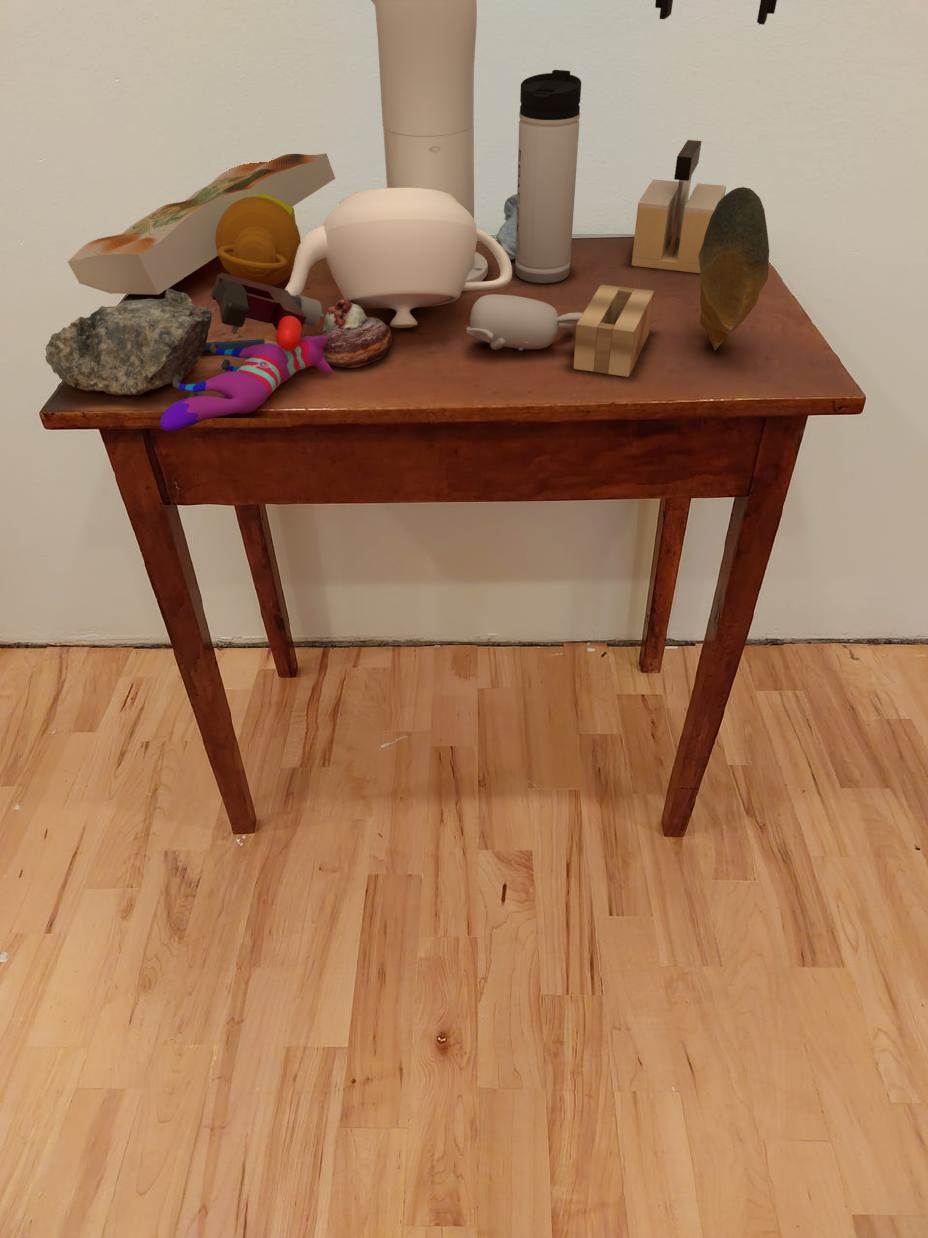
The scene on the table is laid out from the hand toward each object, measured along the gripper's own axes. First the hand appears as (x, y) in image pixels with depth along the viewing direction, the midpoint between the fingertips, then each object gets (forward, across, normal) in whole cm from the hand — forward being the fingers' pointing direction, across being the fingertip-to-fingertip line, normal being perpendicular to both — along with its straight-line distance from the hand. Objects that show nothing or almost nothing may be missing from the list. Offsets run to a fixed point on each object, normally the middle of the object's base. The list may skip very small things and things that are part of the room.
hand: (712, 19), depth 93 cm
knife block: (+24, -2, -26) cm, 36 cm away
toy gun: (+18, -30, -41) cm, 53 cm away
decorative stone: (+24, +8, -23) cm, 34 cm away
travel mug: (+24, -14, -8) cm, 30 cm away
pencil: (+25, -40, -39) cm, 61 cm away
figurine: (+24, -18, 0) cm, 30 cm away
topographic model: (+22, -53, -15) cm, 59 cm away
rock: (+18, -42, -50) cm, 68 cm away
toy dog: (+23, -37, -46) cm, 63 cm away
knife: (+23, 0, +1) cm, 23 cm away
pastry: (+25, -26, -34) cm, 50 cm away
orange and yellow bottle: (+25, -44, -20) cm, 54 cm away
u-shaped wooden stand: (+24, 0, +1) cm, 24 cm away
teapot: (+13, -26, -24) cm, 38 cm away
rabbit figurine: (+24, -10, -28) cm, 38 cm away
